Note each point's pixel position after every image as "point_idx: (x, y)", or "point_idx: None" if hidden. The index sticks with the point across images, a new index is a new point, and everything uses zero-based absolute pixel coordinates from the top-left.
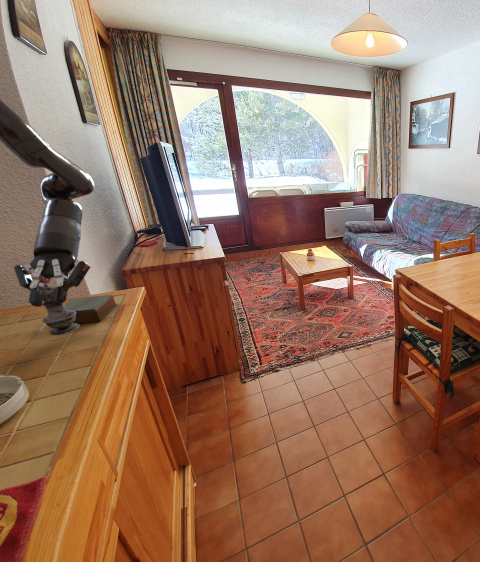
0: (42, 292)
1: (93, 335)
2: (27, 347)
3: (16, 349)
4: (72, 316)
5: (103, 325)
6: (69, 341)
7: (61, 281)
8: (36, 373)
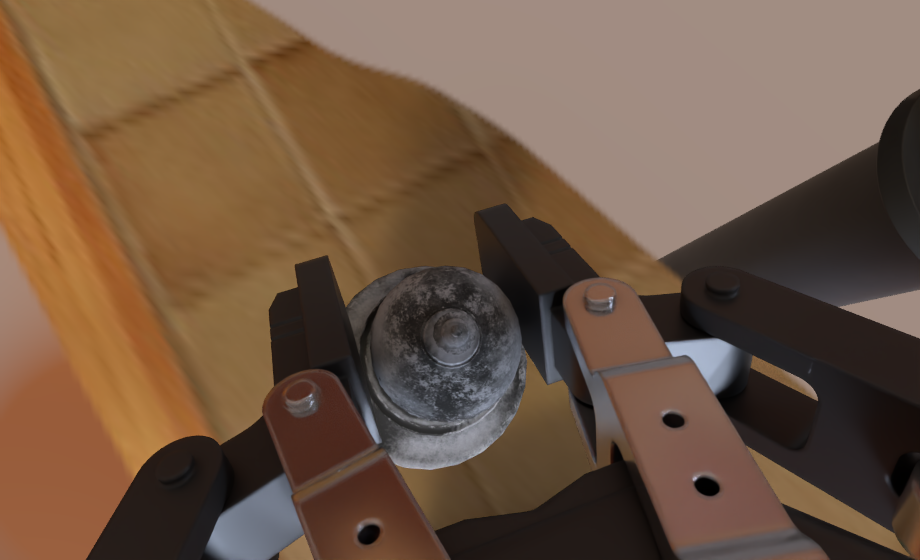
0: (443, 266)
1: None
2: None
3: (613, 266)
4: None
5: None
6: None
7: (290, 429)
8: (312, 80)
